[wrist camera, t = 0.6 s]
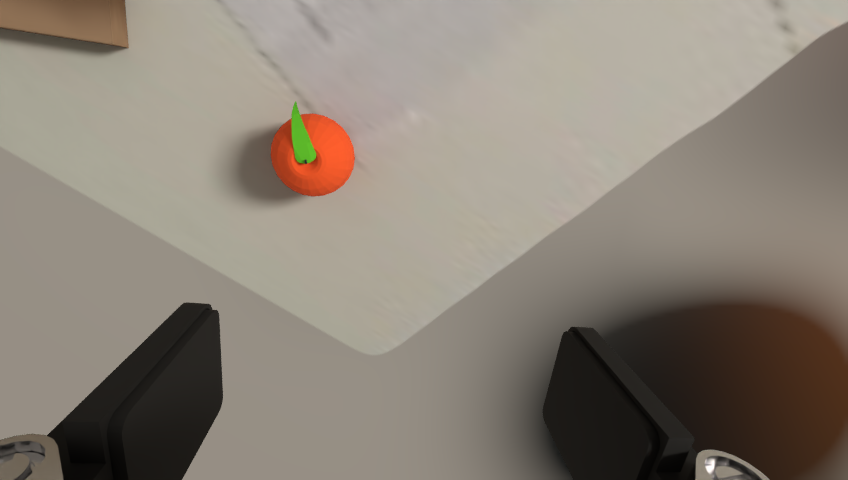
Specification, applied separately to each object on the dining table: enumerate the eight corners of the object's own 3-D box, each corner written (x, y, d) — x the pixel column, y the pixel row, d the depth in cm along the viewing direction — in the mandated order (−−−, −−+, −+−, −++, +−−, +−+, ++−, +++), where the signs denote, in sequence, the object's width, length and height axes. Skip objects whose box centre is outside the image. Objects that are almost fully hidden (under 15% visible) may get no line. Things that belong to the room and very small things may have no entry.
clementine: (268, 109, 36) (240, 110, 29) (343, 93, 36) (333, 90, 29) (295, 194, 38) (276, 213, 32) (365, 179, 38) (360, 194, 32)
